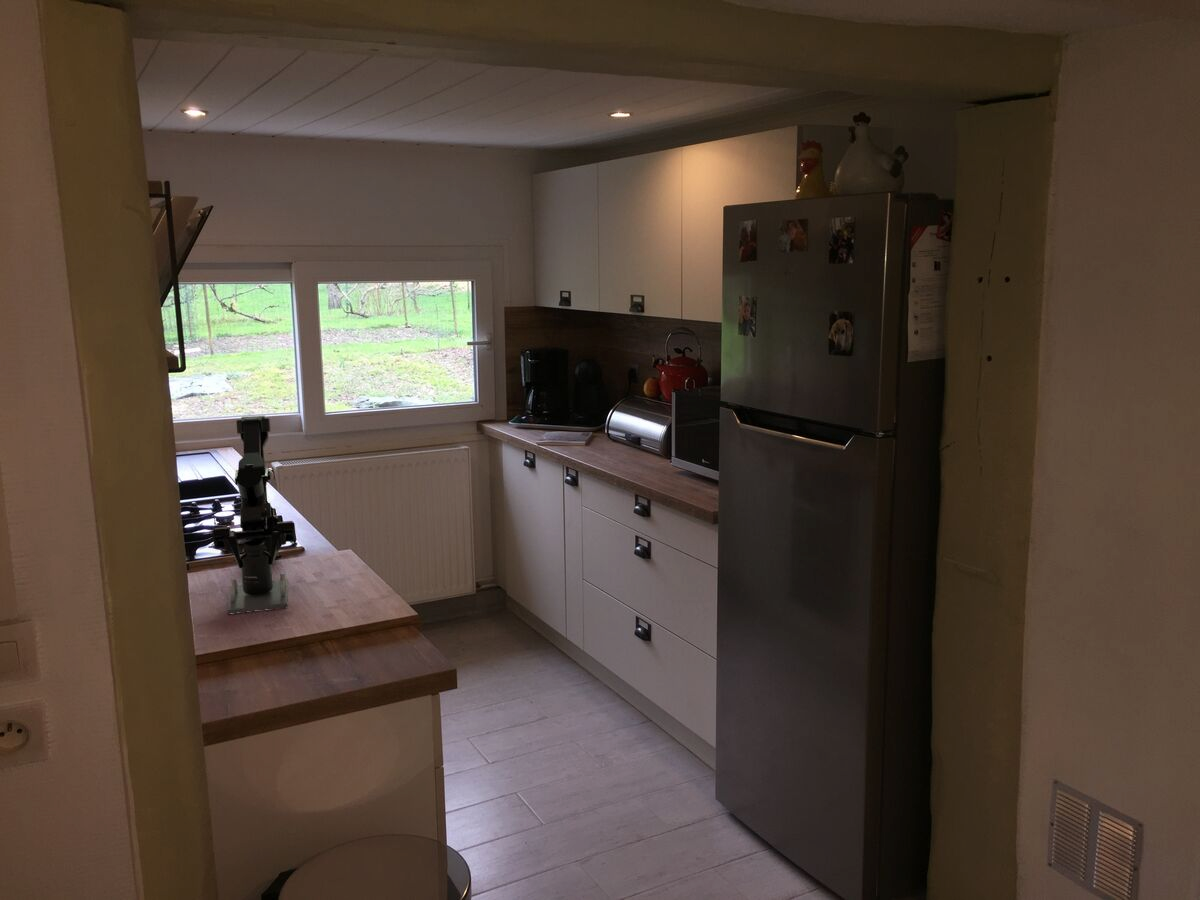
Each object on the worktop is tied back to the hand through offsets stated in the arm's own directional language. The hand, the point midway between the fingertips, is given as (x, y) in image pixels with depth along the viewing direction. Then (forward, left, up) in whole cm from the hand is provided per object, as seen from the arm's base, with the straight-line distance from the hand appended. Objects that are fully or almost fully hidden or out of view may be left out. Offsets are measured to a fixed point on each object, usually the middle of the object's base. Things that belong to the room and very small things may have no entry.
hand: (255, 565), depth 229 cm
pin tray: (-1, -1, -9) cm, 9 cm away
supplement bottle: (-1, -1, -7) cm, 7 cm away
